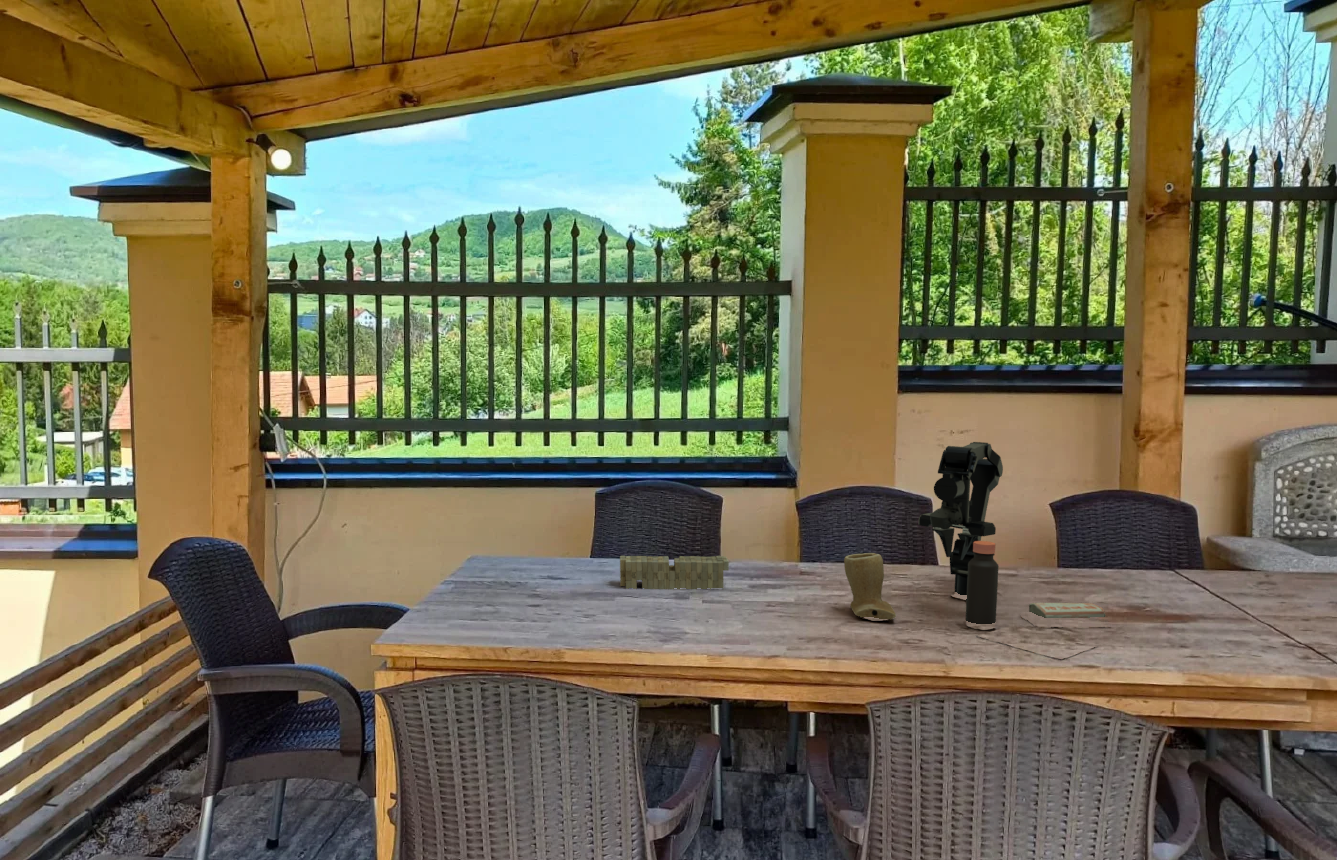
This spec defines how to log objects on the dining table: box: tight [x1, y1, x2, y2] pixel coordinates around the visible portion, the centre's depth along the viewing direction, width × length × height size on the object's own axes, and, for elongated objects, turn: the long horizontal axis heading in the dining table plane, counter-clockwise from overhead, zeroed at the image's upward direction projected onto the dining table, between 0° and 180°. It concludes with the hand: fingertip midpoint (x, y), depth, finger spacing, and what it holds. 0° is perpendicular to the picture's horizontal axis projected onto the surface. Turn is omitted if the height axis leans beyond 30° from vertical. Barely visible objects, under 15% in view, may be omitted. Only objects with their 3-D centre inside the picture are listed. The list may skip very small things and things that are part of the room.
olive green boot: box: [843, 552, 897, 620], centre depth 222 cm, size 15×12×15 cm
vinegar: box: [965, 540, 999, 624], centre depth 213 cm, size 7×7×20 cm
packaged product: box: [1028, 602, 1107, 618], centre depth 219 cm, size 18×5×10 cm
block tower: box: [619, 555, 730, 590], centre depth 246 cm, size 8×8×29 cm
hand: (954, 558), depth 228 cm, fingers open, 3 cm apart
